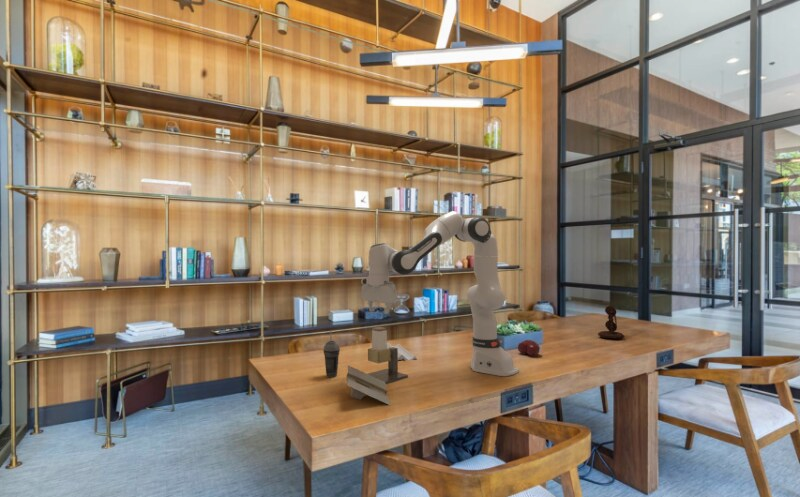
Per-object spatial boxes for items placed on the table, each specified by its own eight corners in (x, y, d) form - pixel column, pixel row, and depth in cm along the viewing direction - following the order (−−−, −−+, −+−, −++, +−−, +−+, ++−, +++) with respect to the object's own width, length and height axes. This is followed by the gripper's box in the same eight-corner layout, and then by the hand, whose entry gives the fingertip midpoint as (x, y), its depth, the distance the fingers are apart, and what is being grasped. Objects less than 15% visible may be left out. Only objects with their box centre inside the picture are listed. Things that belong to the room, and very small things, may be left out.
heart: (528, 349, 221) (515, 354, 216) (527, 336, 220) (514, 340, 215) (546, 354, 211) (533, 360, 206) (545, 340, 210) (532, 345, 205)
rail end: (387, 358, 173) (386, 328, 173) (378, 360, 170) (378, 329, 170) (380, 356, 176) (379, 326, 176) (372, 358, 173) (371, 328, 173)
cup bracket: (407, 377, 175) (407, 347, 175) (380, 385, 164) (380, 354, 164) (386, 370, 185) (386, 342, 185) (359, 378, 174) (359, 348, 174)
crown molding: (416, 360, 205) (416, 353, 205) (394, 362, 201) (394, 355, 202) (400, 347, 235) (399, 340, 235) (380, 348, 231) (380, 342, 232)
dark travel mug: (326, 379, 172) (326, 333, 173) (321, 375, 179) (321, 330, 179) (342, 377, 176) (342, 331, 176) (336, 372, 182) (336, 329, 182)
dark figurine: (626, 341, 244) (625, 308, 244) (599, 339, 249) (599, 307, 250) (622, 336, 258) (621, 305, 258) (596, 335, 263) (596, 304, 263)
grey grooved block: (369, 399, 161) (337, 374, 158) (385, 381, 161) (354, 356, 158) (372, 425, 143) (336, 398, 140) (390, 405, 143) (355, 377, 140)
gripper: (400, 281, 168) (400, 314, 168) (369, 279, 183) (370, 309, 183) (389, 282, 164) (389, 315, 164) (358, 280, 179) (359, 310, 178)
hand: (379, 312), depth 173 cm, fingers open, 8 cm apart
